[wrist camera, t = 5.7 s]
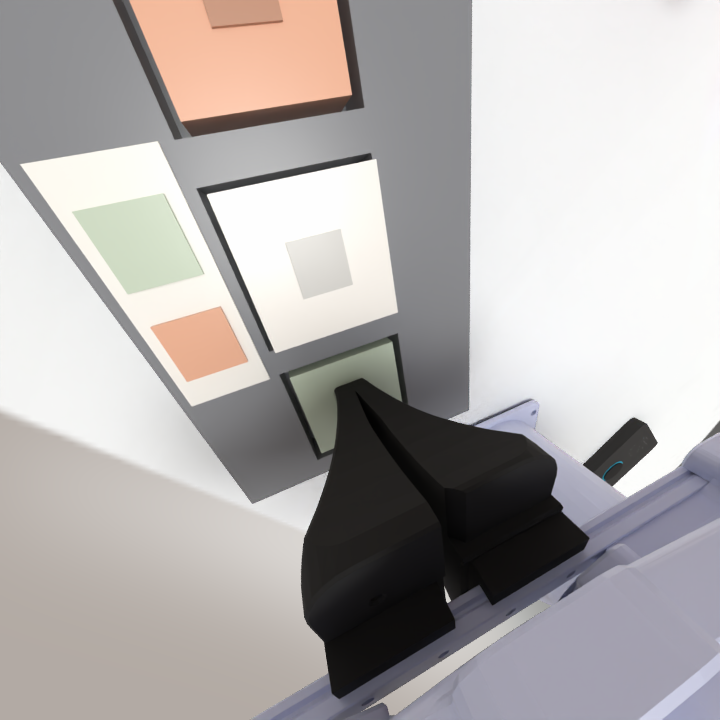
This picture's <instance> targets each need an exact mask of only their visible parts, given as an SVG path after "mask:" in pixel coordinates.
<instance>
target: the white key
mask: <svg viewBox="0 0 720 720" xmlns="http://www.w3.org/2000/svg"><path fill="white" fill-rule="evenodd" d="M207 197H208V199H209V201H210V204H211V206H212V208H213V211H214V213H215V215H216V217H217V220H218V222H219V224H220V227H221V229H222V231H223V234H224V236H225V238H226V241H227V243H228V245H229V247H230V250H231V252H232V254H233V257H234V259H235V261H236V264H237V266H238V268H239V271H240V273H241V275H242V277H243V280H244V282H245V284H246V287H247V289H248V291H249V294H250V296H251V298H252V301H253V303H254V305H255V308H256V310H257V312H258V314H259V317H260V319H261V321H262V324H263V326H264V328H265V331H266V333H267V335H268V338H269V340H270V342H271V344H272V347H273V349H274V351H275V353H278V352H281V351H284V350H287V349H290V348H293V347H296V346H299V345H302V344H305V343H308V342H311V341H314V340H317V339H320V338H323V337H326V336H329V335H332V334H335V333H338V332H341V331H344V330H347V329H350V328H353V327H356V326H359V325H362V324H365V323H368V322H371V321H374V320H377V319H380V318H383V317H386V316H389V315H392V314H395V313H398V309H397V302H396V295H395V288H394V281H393V274H392V267H391V260H390V253H389V245H388V238H387V231H386V224H385V217H384V210H383V203H382V196H381V189H380V182H379V175H378V168H377V161H376V159H374V160H369V161H364V162H359V163H354V164H350V165H345V166H340V167H335V168H331V169H326V170H321V171H316V172H311V173H307V174H302V175H297V176H292V177H288V178H283V179H278V180H273V181H268V182H264V183H259V184H254V185H249V186H245V187H240V188H235V189H230V190H226V191H221V192H216V193H211V194H207Z"/></svg>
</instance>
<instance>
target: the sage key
mask: <svg viewBox="0 0 720 720" xmlns="http://www.w3.org/2000/svg"><path fill="white" fill-rule="evenodd" d="M288 372H289V377H290V380H291V383H292V385H293V387H294V390H295V392H296V394H297V397H298V399H299V401H300V404H301V406H302V408H303V411H304V413H305V416H306V418H307V420H308V423H309V425H310V427H311V430H312V432H313V434H314V437H315V439H316V441H317V444H318V446H319V449H320V451H321V453H324V452H326V451H328V450H331V449H333V448H334V445H335V439H336V429H337V399H336V395H335V392H334V390H335V388H336V387H339V386H341V385H344V384H347V383H349V382H352V381H355V380H357V379H360V378H363V379H365V380H367V381H368V382H369V383H371V384H372V385H374V386H376V387H377V388H379V389H380V390H382V391H384V392H385V393H387V394H389V395H390V396H392V397H394V398H396V399H398V400H400V401H401V402H402V398H401V392H400V386H399V380H398V374H397V367H396V361H395V355H394V349H393V343H392V341H391V340H390V339H388V338H387V337H385V338H383V339H380V340H377V341H374V342H371V343H368V344H365V345H363V346H360V347H357V348H354V349H351V350H348V351H345V352H343V353H340V354H337V355H334V356H331V357H328V358H325V359H323V360H320V361H317V362H314V363H311V364H308V365H305V366H303V367H300V368H297V369H294V370H291V371H288Z"/></svg>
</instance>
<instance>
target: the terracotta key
mask: <svg viewBox="0 0 720 720" xmlns="http://www.w3.org/2000/svg"><path fill="white" fill-rule="evenodd" d="M129 1H130V3H131V6H132V8H133V10H134V13H135V15H136V18H137V20H138V22H139V25H140V27H141V29H142V32H143V34H144V36H145V39H146V41H147V43H148V46H149V48H150V50H151V53H152V55H153V58H154V60H155V62H156V65H157V67H158V69H159V72H160V74H161V76H162V79H163V81H164V83H165V86H166V88H167V91H168V93H169V95H170V98H171V100H172V102H173V105H174V107H175V109H176V112H177V114H178V116H179V119H180V121H181V123H182V124H183V125H184V127H185V128H186V129H187V131H188V132H189V133H190V135H191V136H192V137H195V136H200V135H206V134H212V133H218V132H224V131H230V130H236V129H242V128H248V127H254V126H260V125H266V124H272V123H278V122H284V121H289V120H295V119H301V118H307V117H313V116H319V115H325V114H331V113H337V112H341V111H342V110H343V108H344V107H345V105H346V104H347V102H348V100H349V99H350V97H351V96H352V91H351V85H350V79H349V73H348V67H347V60H346V54H345V48H344V42H343V36H342V30H341V24H340V17H339V11H338V5H337V0H129Z"/></svg>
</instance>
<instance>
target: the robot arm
mask: <svg viewBox="0 0 720 720" xmlns="http://www.w3.org/2000/svg"><path fill="white" fill-rule="evenodd" d="M334 392H335V395H336V399H337V429H336V439H335V445H334V451H333V456H332V460H331V465H330V469H329V473H328V476H327V480H326V483H325V486H324V489H323V492H322V495H321V498H320V501H319V504H318V506H317V509H316V511H315V514H314V516H313V518H312V521H311V523H310V526H309V528H308V530H307V533H306V535H305V537H304V544H303V553H302V565H301V590H302V600H303V609H304V618H305V620H306V622H307V624H308V625H309V626H310V628H311V629H312V630H313V631H314V632H315V633H316V634H317V635H318V636H319V637H320V638H321V639H322V640H323V641H324V645H325V652H326V659H327V665H328V672H329V673H328V674H327V675H325V676H323V677H321V678H320V679H318V680H316V681H314V682H313V683H311V684H309V685H308V686H306V687H304V688H302V689H301V690H299V691H297V692H296V693H294V694H292V695H291V696H289V697H287V698H285V699H284V700H282V701H280V702H279V703H277V704H276V705H274V706H272V707H270V708H268V709H267V710H265V711H263V712H262V713H260V714H258V715H257V716H255V717H253V718H251V719H250V720H720V432H719V433H717V434H715V435H714V436H712V437H710V438H708V439H707V440H705V441H703V442H701V443H700V444H698V445H697V446H695V447H694V448H693V449H692V450H691V451H690V452H689V453H688V454H687V455H686V457H685V458H684V460H683V462H682V466H680V467H679V468H677V469H675V470H674V471H672V472H670V473H669V474H667V475H665V476H663V477H662V478H660V479H658V480H657V481H655V482H653V483H652V484H650V485H648V486H646V487H645V488H643V489H641V490H640V491H638V492H636V493H634V494H633V495H631V496H629V497H628V498H627V497H625V496H624V495H623V494H621V493H620V492H619V491H617V490H616V489H615V488H613V487H612V486H610V485H609V484H608V483H606V482H605V481H604V480H602V479H601V478H600V477H598V476H597V475H595V474H594V473H593V472H591V471H590V470H589V469H587V468H586V467H585V466H583V465H582V464H580V463H579V462H578V461H576V460H575V459H574V458H572V457H571V456H569V455H568V454H567V453H565V452H564V451H563V450H561V449H560V448H559V447H557V446H556V445H554V444H553V443H552V442H550V441H549V440H548V439H546V438H545V437H544V436H542V435H541V434H539V433H538V432H537V431H535V426H536V420H537V415H538V410H539V403H538V402H537V401H535V400H531V401H529V402H526V403H524V404H522V405H520V406H518V407H515V408H513V409H511V410H509V411H506V412H504V413H502V414H500V415H498V416H495V417H493V418H491V419H489V420H486V421H484V422H482V423H480V424H478V425H475V426H470V425H466V424H462V423H458V422H454V421H451V420H447V419H444V418H440V417H437V416H434V415H431V414H429V413H426V412H424V411H421V410H418V409H416V408H414V407H412V406H410V405H408V404H405V403H403V402H401V401H400V400H398V399H396V398H394V397H392V396H390V395H389V394H387V393H385V392H384V391H382V390H380V389H379V388H377V387H376V386H374V385H372V384H371V383H369V382H368V381H367V380H365V379H363V378H360V379H357V380H355V381H352V382H349V383H347V384H344V385H341V386H339V387H336V388H335V390H334ZM444 586H445V588H446V590H447V592H448V595H449V597H450V599H451V602H449V603H447V602H446V598H445V589H444ZM537 600H541V601H542V602H544V603H546V604H549V605H551V606H550V607H549V608H547V609H545V610H544V611H542V612H540V613H539V614H537V615H536V616H534V617H532V618H531V619H530V620H528V621H526V622H525V623H523V624H522V625H520V626H518V627H517V628H515V629H514V630H512V631H511V632H509V633H508V634H506V635H505V636H503V637H502V638H500V639H499V640H497V641H496V642H495V643H493V644H492V645H490V646H489V647H487V648H486V649H484V650H483V651H481V652H480V653H479V654H477V655H476V656H474V657H473V658H472V659H470V660H469V661H468V662H466V663H465V664H463V665H462V666H461V667H459V668H458V669H457V670H455V671H454V672H453V673H451V674H450V675H449V676H447V677H446V678H444V679H443V680H442V681H440V682H439V683H438V684H436V685H435V686H434V687H432V688H431V689H430V690H429V691H427V692H426V693H424V694H423V695H422V696H420V697H419V698H418V699H416V700H415V701H414V702H412V703H411V704H410V705H409V706H407V707H406V708H405V709H403V710H402V711H401V712H399V713H398V714H397V715H392V716H391V715H389V712H388V708H387V706H386V705H385V704H384V703H380V704H378V705H376V706H374V707H371V708H369V709H367V710H365V709H366V708H368V707H369V706H371V705H372V704H374V703H376V702H377V701H379V700H380V699H382V698H384V697H385V696H387V695H388V694H390V693H391V692H393V691H395V690H396V689H398V688H399V687H401V686H403V685H404V684H406V683H407V682H409V681H410V680H412V679H414V678H415V677H417V676H418V675H420V674H422V673H423V672H425V671H426V670H428V669H429V668H431V667H433V666H434V665H436V664H437V663H439V662H441V661H442V660H444V659H445V658H447V657H448V656H450V655H451V654H453V653H454V652H456V651H458V650H460V649H461V648H463V647H464V646H466V645H467V644H469V643H471V642H472V641H474V640H475V639H477V638H479V637H480V636H482V635H483V634H485V633H486V632H488V631H490V630H491V629H493V628H494V627H496V626H497V625H499V624H501V623H502V622H504V621H505V620H507V619H509V618H510V617H512V616H513V615H515V614H517V613H518V612H519V611H521V610H523V609H524V608H526V607H528V606H529V605H531V604H532V603H534V602H536V601H537ZM363 710H364V711H363ZM361 711H362V712H361Z"/></svg>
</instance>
